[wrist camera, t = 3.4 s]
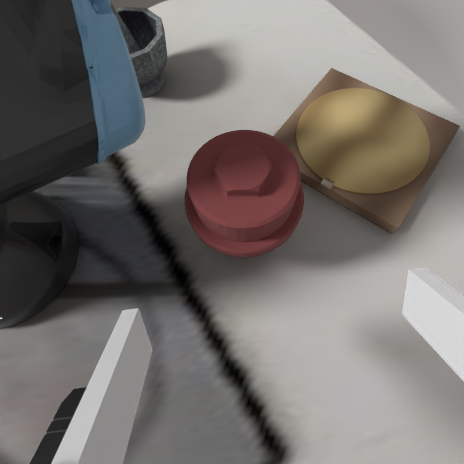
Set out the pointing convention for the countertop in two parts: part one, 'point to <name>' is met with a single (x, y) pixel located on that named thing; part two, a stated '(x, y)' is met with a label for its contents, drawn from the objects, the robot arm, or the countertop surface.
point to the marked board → (365, 147)
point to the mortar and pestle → (144, 46)
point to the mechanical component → (244, 193)
